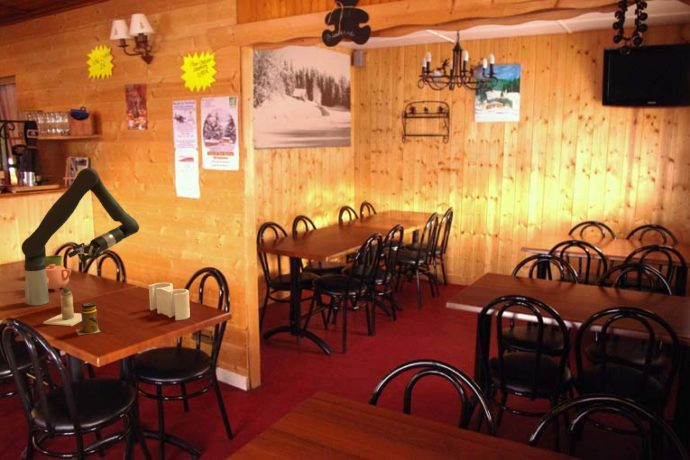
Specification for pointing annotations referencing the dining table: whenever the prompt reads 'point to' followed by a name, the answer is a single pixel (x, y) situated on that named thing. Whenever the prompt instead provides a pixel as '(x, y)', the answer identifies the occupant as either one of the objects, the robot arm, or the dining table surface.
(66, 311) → the pepper mill
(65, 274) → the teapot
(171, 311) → the cream triple cylinder
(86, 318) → the condiment
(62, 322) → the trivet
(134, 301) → the dining table surface
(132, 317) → the dining table surface
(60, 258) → the plant pot
